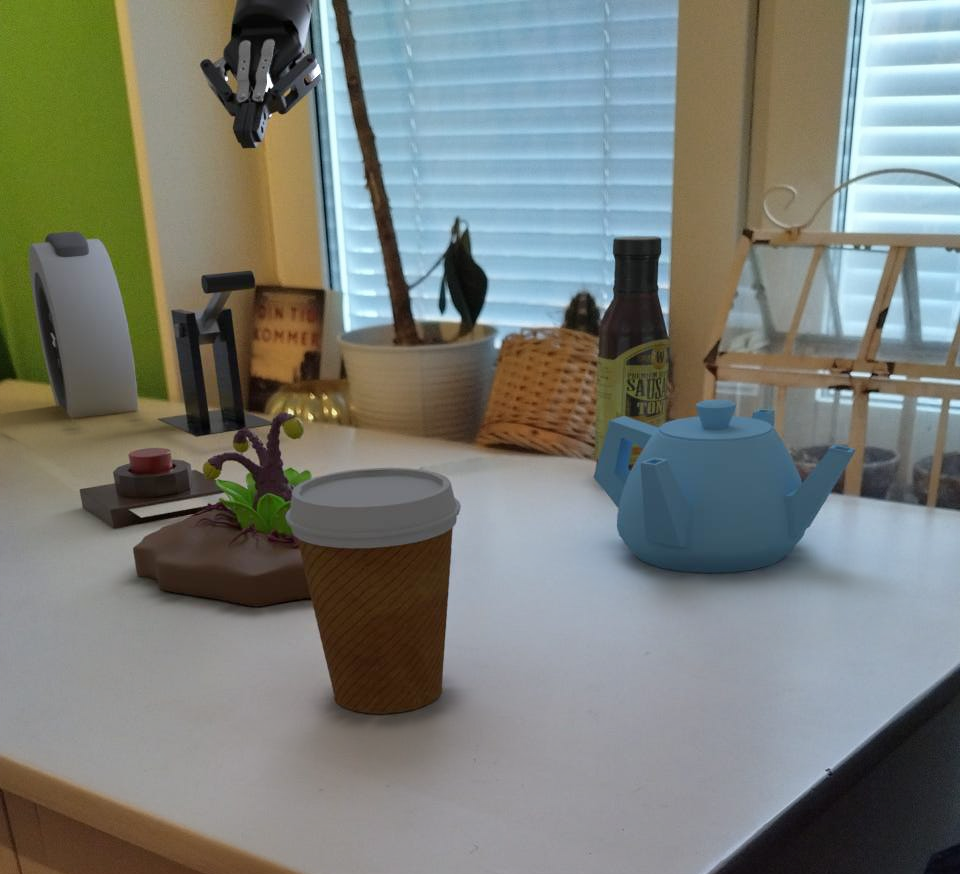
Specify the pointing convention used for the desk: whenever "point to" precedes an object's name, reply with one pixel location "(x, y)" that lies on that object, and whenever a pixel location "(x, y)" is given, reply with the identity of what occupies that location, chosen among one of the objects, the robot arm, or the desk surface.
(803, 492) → the teapot
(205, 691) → the desk surface
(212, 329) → the lever
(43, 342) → the alarm clock
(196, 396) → the black upright frame
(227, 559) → the plant
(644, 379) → the sauce bottle
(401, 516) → the disposable coffee cup
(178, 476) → the button block
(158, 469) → the button
